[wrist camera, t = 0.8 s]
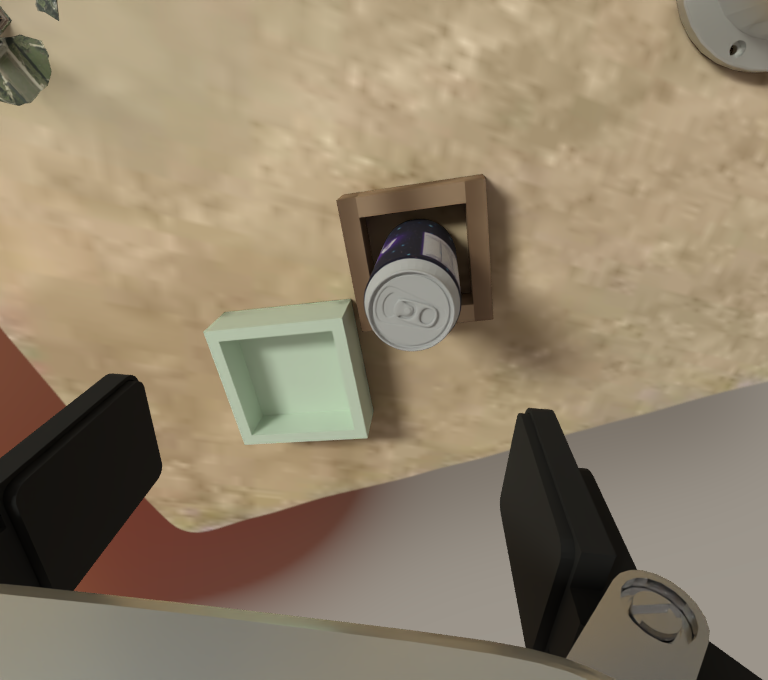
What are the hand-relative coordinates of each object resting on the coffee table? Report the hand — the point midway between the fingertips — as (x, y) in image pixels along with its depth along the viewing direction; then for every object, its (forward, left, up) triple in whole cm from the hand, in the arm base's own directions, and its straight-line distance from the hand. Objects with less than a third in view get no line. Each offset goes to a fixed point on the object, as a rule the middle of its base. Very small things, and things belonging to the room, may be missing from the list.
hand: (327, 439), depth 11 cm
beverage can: (-1, +3, -26) cm, 27 cm away
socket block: (-1, +3, -26) cm, 26 cm away
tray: (+11, +12, -26) cm, 31 cm away
